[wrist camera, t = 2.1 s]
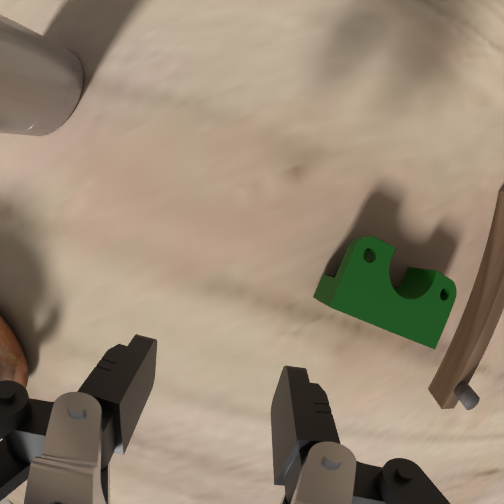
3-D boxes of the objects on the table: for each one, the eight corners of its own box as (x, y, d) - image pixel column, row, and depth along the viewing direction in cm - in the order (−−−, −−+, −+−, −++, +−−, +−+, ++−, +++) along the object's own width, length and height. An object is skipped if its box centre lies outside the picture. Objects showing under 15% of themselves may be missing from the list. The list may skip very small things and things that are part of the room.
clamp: (395, 269, 32) (465, 290, 24) (374, 320, 32) (441, 351, 24) (321, 222, 26) (408, 239, 18) (293, 289, 26) (373, 328, 18)
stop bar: (428, 389, 31) (452, 425, 24) (499, 190, 25) (543, 198, 18) (439, 389, 31) (465, 424, 24) (509, 196, 25) (553, 205, 18)
